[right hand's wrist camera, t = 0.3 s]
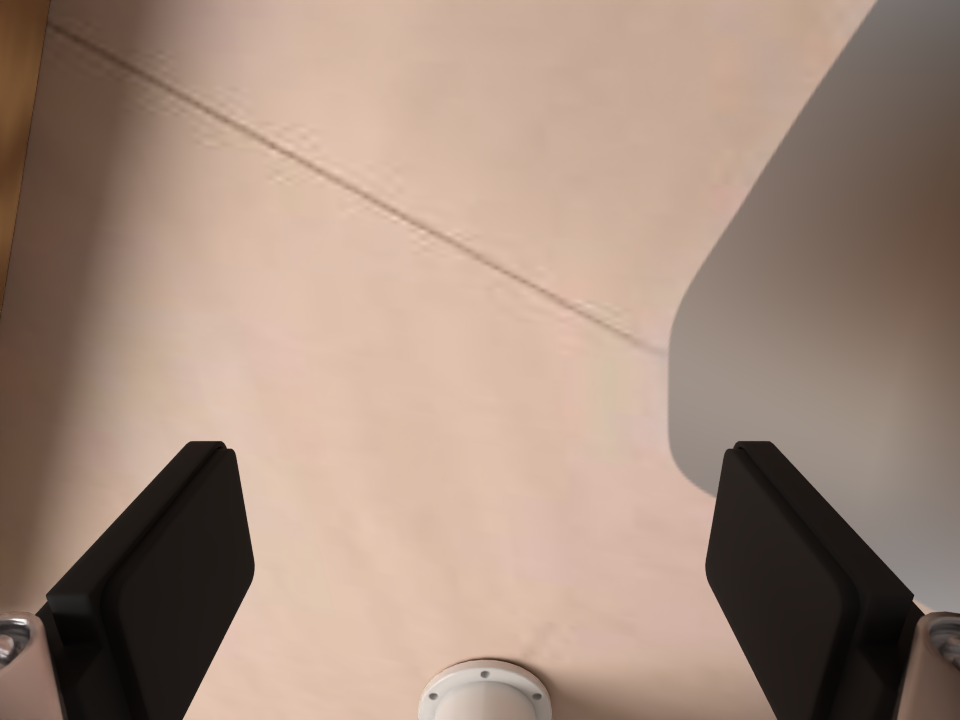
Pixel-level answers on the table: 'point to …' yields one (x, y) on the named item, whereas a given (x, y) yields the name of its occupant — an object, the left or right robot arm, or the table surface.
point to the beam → (16, 106)
